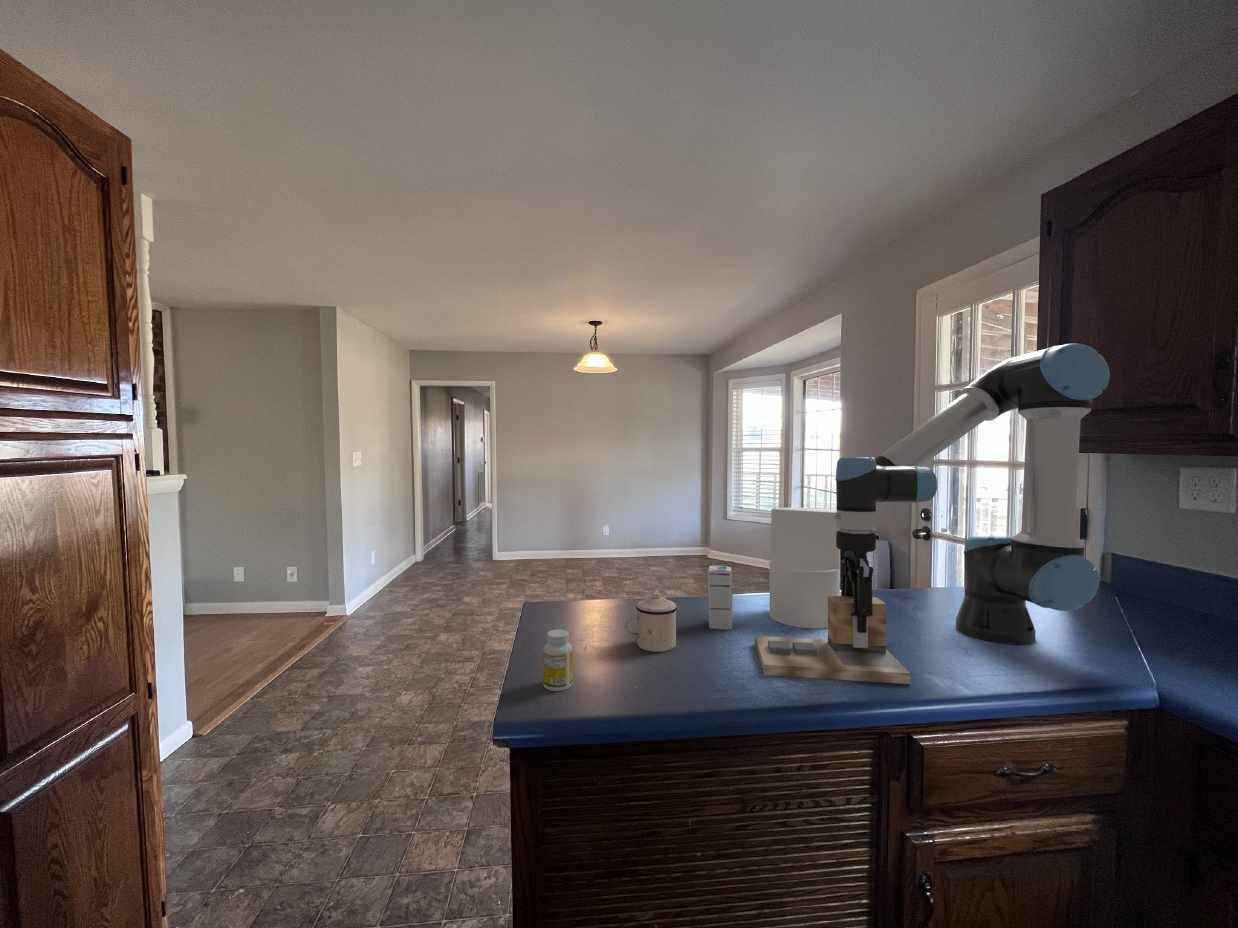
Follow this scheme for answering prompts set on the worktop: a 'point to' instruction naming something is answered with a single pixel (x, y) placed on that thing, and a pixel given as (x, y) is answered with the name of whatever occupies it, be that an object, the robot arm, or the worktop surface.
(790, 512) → the cylinder
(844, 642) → the sanding block
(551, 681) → the supplement bottle
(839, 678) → the maple board
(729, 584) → the syrup box
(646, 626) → the teacup with lid
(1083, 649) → the worktop surface
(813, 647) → the chip
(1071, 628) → the worktop surface
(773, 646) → the chip
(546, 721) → the worktop surface
